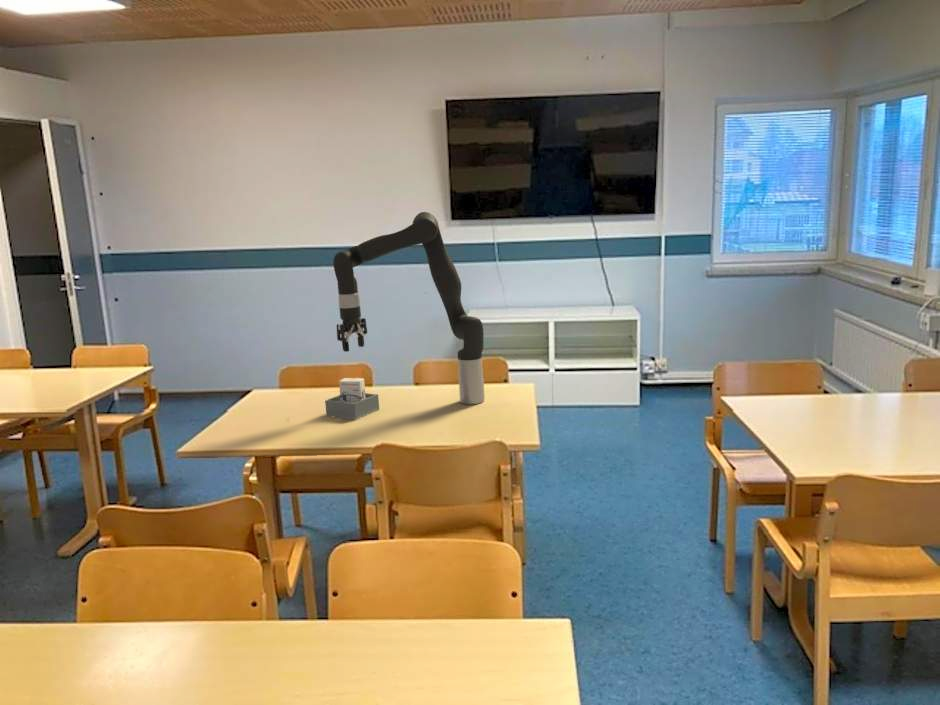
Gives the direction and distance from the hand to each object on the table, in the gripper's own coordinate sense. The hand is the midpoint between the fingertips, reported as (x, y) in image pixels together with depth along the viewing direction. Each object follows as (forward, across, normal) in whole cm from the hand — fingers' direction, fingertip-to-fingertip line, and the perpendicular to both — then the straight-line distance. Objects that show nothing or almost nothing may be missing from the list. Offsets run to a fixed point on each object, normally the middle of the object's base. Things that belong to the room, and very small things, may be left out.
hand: (354, 348), depth 270 cm
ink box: (+24, -1, +2) cm, 24 cm away
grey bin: (+24, -2, +2) cm, 25 cm away
